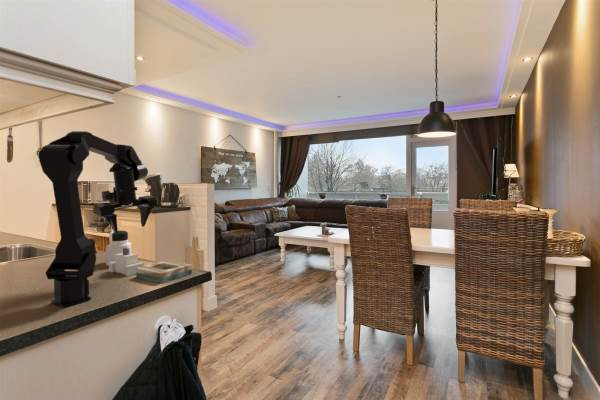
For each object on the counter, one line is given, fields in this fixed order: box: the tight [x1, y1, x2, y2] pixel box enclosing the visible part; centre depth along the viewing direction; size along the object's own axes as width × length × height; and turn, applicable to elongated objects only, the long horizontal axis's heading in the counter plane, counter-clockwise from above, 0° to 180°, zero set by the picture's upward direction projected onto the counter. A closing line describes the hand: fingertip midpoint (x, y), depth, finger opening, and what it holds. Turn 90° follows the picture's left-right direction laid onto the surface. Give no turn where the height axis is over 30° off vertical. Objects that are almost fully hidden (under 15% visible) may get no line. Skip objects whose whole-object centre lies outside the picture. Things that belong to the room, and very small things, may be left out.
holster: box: [108, 262, 145, 277], centre depth 110 cm, size 6×10×3 cm, turn 63°
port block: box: [135, 259, 193, 284], centre depth 106 cm, size 12×12×3 cm
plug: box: [115, 248, 138, 275], centre depth 110 cm, size 4×6×8 cm, turn 63°
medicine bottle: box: [105, 230, 132, 267], centre depth 121 cm, size 7×7×12 cm
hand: (129, 229), depth 109 cm, fingers open, 9 cm apart
